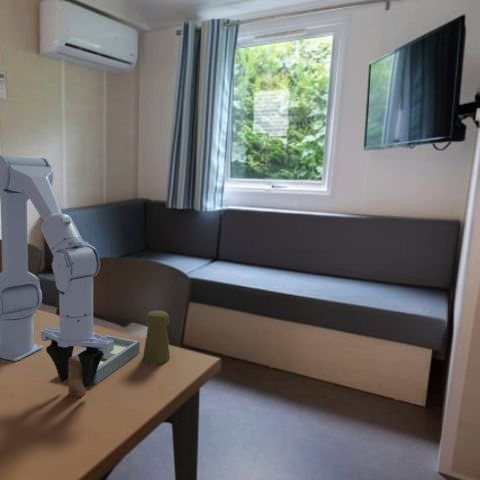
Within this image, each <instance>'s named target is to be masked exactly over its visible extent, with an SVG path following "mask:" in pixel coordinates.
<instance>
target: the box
mask: <svg viewBox="0 0 480 480" xmlns="http://www.w3.org/2000/svg"><path fill="white" fill-rule="evenodd" d="M103 337H105V338H108V339H111V340H114V350H113V351H111V352H110V353H108V354H104V355H103V357H102V359H105V361H103V360H101V361H100V363H99V366H98V368H97V372H96V375H95V379H94V383H93V384H95V385H97V384H99V383H100V382H102V381H103V380H104V379H105V378H107V377H108V376H110V375H111V374H112V373H113V372H115V371H116V370H117V369H119V368H120V367H122V366H123V365H125V364H126V363H127V362H129V361H130V360H132V359H133V358H135V357H136V356H137V355H138V354H140V353H141V351H140V349H141V348H140V347H141V346H140V340H135V339H130V338H124V337H119V336H114V335H110V334H109V335H108V334H106V335H103ZM85 350H86V348H84V347H82V348H81V349H79V350H78V351H76V352H74V353H72V357H73V356H78V354H80V353H81V352H83V351H85Z"/></svg>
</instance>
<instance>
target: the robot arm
mask: <svg viewBox="0 0 480 480" xmlns="http://www.w3.org/2000/svg"><path fill="white" fill-rule="evenodd" d="M53 180H54V169H53V166H52V164H51V163H50V161H49V160H48V159H47V158H46V157H41V158H37V157H22V156H21V157H20V156H6V155H0V223H1V227H0V229H1V258H2V259H1V264H2V266H1V267H2V271H1V272H0V359H4V360H8V361H13V362H17V361H19V360H22V359H25V358H26V357H29V355H32V354H34V353H36V352H37V351H40V350H42V349H43V348H44V345H41V344H37V343H35V337H34V336H35V335H34V334H35V332H34V331H35V330H34V329H35V327H34V314H36V313H37V309H38V308H40V306H41V304H42V303H43V301H42V300H43V292H42V289H41V285H40V278H39V277H38V276H37V275H35V274H34V273H32V272H30V271H29V263H28V262H29V253H28V251H29V250H28V244H29V243H28V201H29V200H30V202H31V203H32V205H33V207H34V208H35V210H36V211H37V213H38V214H39V216H40V218H41V219H42V221H43V222H42V223H41V226H40V231H41V234H42V235H43V237H44V240H45V242H46V244H47V245H48V247H49V250H50V252H51V254H52V256H53V257H52V262H51V267H52V268H51V269H52V272H53V275H54V278H55V287H56V289H57V290H59V291H58V292H59V293H58V297H59V298H58V300H59V304H58V305H59V306H58V307H59V328H57V327H56V328H55V327H46V328H44V329H41V330H40V341H43V342H47V341H51V342H50V345H49V346H46V348H45V350H46V351H45V352H46V353H47V354H48V355H49V357H50V359H51V360H52V362H53V364H54V365H55V369H56V371H57V374H58V378H59V381H60V382H61V383H62V382H63V383H64V382H65V381H67V380H68V359H69V358H70V357H72V354H74V353H73V351H74V348H75V347H80V348H86V350H85V351H83V352H81V353H80V354H78V357H79V360H80V362H81V366H82V372H83V385H84V387H86V388H89V387H90V386H92V385H93V384H95V383H94V379H95V375H96V372H97V368H98V366H99V363H100V361H102V359H103V358H102V357H103V355H104V354H108V353H110V352H111V351H113V350H114V340H111V339H108V338H105V337H104V335H103V336H102V335H101V334H99V333H96V332H94V277H96V276H97V275H98V274H99V271H100V268H101V259H100V256H99V253H98V250H97V248H95V246H94V245H91V244H90V243H89V242H88V241H85V240H83V237H82V235H81V234H80V232H79V230H78V228H77V226H76V224H75V222H74V221H73V218H72V217H71V216H70V215H68V214H66V213H63V212H62V209H61V207H60V204H59V202H58V199H57V196H56V195H55V191H54V189H53Z"/></svg>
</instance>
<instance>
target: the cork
mask: <svg viewBox="0 0 480 480" xmlns="http://www.w3.org/2000/svg"><path fill="white" fill-rule="evenodd" d="M169 323H170V316H169V314H168V313H167V312H166V311H164V310H159V309H158V310H157V309H156V310H152V311H149V312H148V313H147V314H146V316H145V324H146V326H147V330H146V337H145V342H144V343H145V344H144V350H143V354H142V355H143V357H142V360H143V361H144V362H145V363H147V364H149V365H161V364H165V363H167V362H169V361H170V359H171V356H170V346H169V339H168V338H169V337H168V328H167V327H168V325H169Z"/></svg>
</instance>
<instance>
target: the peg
mask: <svg viewBox="0 0 480 480" xmlns="http://www.w3.org/2000/svg"><path fill="white" fill-rule="evenodd" d="M67 380H68V381H67V382H68V387H67V389H68V398H71V399H80V398H82V397H84V396H85V395H86V393H87V392H86V391H87V390H86V389H87V387H84V385H83V372H82V366H81V362H80V360H79V357H78V356H73V357H70V358H69V359H68V379H67Z"/></svg>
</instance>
